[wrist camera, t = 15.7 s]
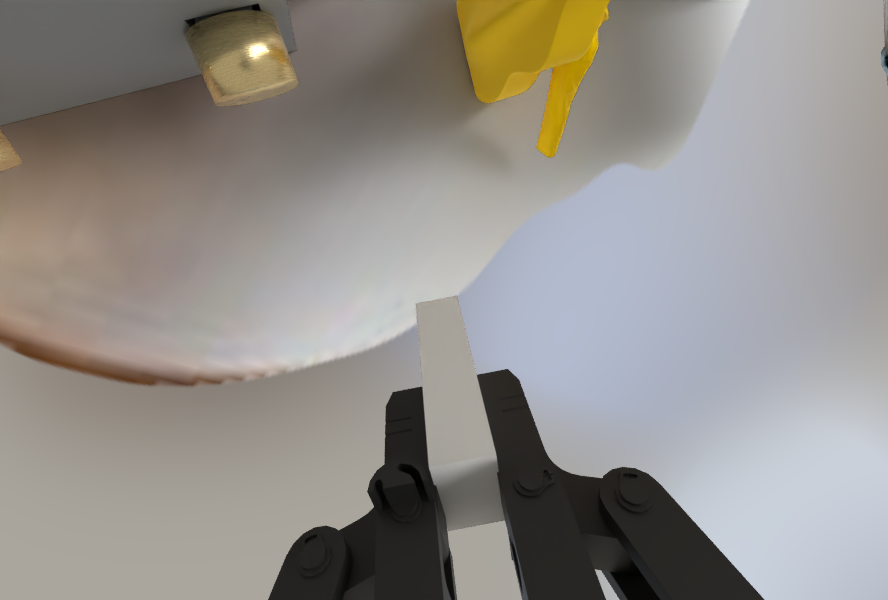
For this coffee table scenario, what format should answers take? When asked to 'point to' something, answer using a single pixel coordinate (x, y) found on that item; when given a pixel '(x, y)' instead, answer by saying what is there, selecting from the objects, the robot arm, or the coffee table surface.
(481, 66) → the figure statuette
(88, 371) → the coffee table surface
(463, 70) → the coffee table surface
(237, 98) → the knob
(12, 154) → the knob
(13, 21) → the knob housing
